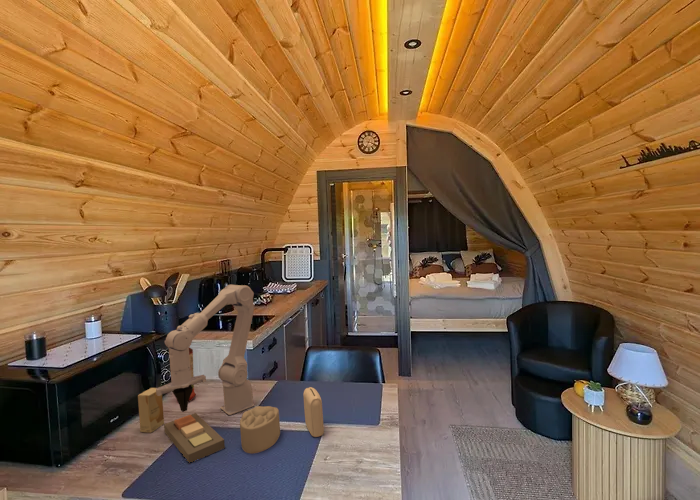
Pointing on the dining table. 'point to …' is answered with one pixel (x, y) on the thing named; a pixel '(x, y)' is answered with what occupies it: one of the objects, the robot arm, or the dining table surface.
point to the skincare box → (150, 410)
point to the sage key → (200, 440)
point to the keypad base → (184, 444)
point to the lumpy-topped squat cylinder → (259, 428)
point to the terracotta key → (184, 421)
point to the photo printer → (313, 412)
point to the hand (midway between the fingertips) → (183, 410)
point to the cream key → (192, 430)
